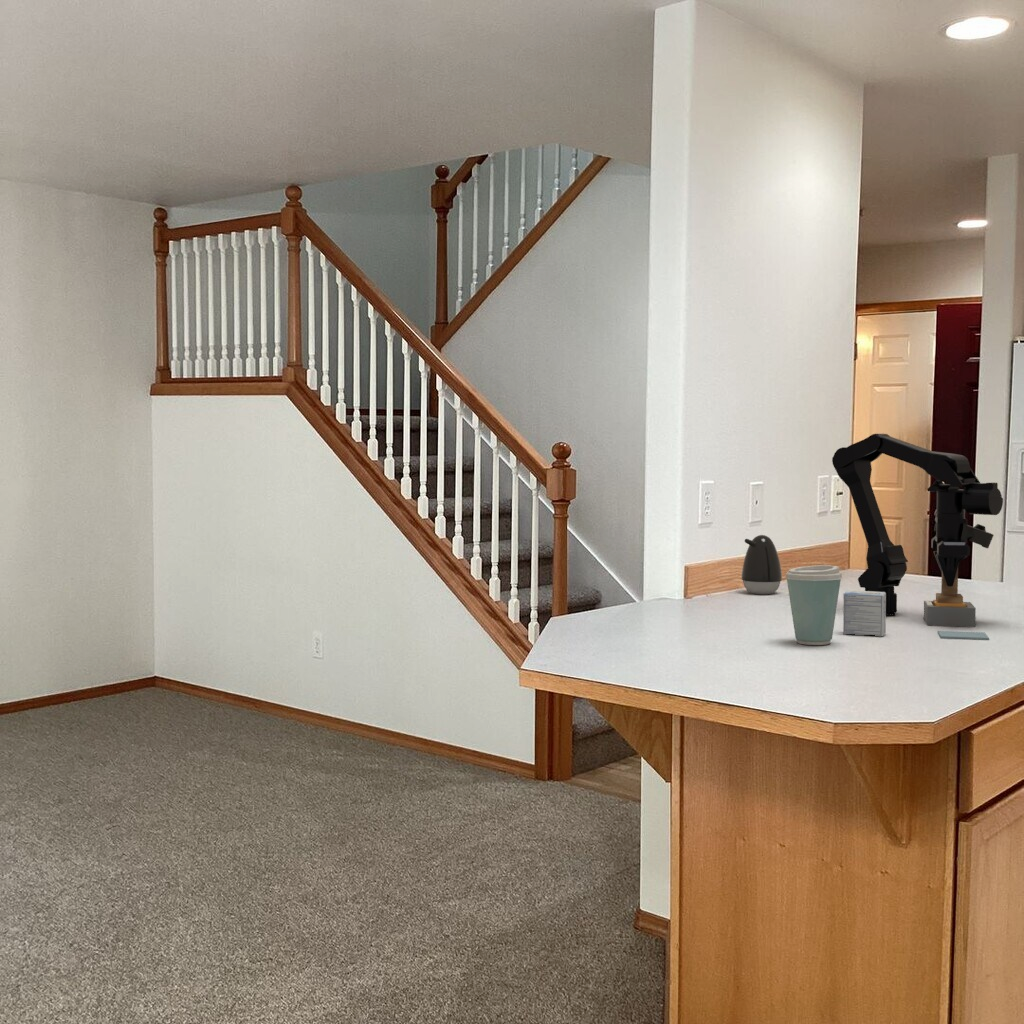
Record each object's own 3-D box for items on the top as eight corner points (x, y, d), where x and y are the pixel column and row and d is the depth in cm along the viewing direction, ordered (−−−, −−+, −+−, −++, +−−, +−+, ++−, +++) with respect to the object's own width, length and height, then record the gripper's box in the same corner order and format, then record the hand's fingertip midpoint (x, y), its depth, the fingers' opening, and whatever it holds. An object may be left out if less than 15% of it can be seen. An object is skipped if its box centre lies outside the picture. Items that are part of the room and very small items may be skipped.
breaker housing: (927, 625, 249) (927, 605, 249) (923, 618, 258) (923, 599, 258) (975, 626, 247) (975, 607, 246) (969, 620, 256) (970, 601, 256)
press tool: (938, 602, 250) (938, 563, 250) (935, 599, 255) (936, 561, 255) (962, 603, 249) (963, 564, 249) (960, 600, 254) (961, 561, 253)
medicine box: (886, 634, 238) (886, 591, 238) (883, 637, 234) (883, 594, 234) (846, 631, 242) (846, 589, 241) (842, 634, 238) (843, 592, 237)
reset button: (935, 619, 250) (935, 603, 250) (933, 615, 256) (933, 599, 256) (965, 620, 249) (965, 604, 248) (962, 615, 254) (962, 600, 254)
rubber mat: (940, 638, 233) (940, 636, 233) (937, 632, 239) (937, 630, 239) (989, 640, 230) (989, 637, 230) (984, 634, 237) (984, 632, 237)
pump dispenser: (732, 592, 305) (733, 534, 304) (765, 590, 310) (765, 532, 309) (756, 596, 296) (757, 537, 295) (789, 594, 300) (790, 535, 300)
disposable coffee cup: (802, 648, 221) (803, 570, 221) (774, 639, 232) (775, 564, 231) (851, 646, 224) (852, 568, 223) (822, 637, 235) (823, 562, 234)
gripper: (996, 516, 240) (995, 592, 241) (985, 511, 258) (983, 581, 259) (939, 515, 243) (938, 590, 244) (931, 510, 261) (930, 580, 262)
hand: (949, 585), depth 252 cm, fingers closed on press tool, 3 cm apart
